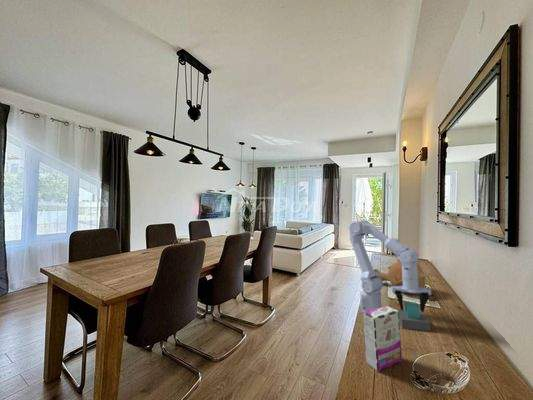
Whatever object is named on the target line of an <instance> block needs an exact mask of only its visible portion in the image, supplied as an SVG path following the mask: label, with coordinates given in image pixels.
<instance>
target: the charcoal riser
mask: <svg viewBox="0 0 533 400" xmlns="http://www.w3.org/2000/svg"><path fill="white" fill-rule="evenodd" d="M396 310H398V311H399V325H400V327H401V329H405V330H414V331H415V330H416V331H423V332H424V331H425V332H431V322H430V321H429V319H428V318H427V316H426V315H424V312H422V311H420V319H417V318H408V317H407V316H406V314H405V309H403V310H401V309H396Z"/></svg>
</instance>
